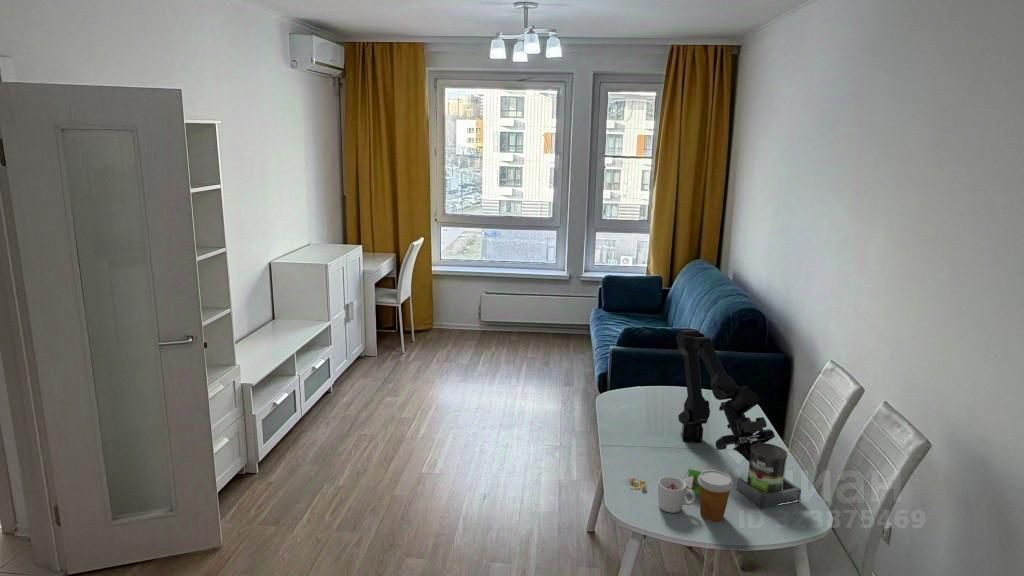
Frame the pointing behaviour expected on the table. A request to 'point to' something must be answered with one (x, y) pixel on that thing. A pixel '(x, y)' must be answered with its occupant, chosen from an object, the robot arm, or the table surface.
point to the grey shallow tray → (769, 494)
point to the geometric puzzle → (692, 481)
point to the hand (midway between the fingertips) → (755, 466)
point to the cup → (673, 494)
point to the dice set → (642, 483)
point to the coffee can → (766, 467)
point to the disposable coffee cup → (714, 494)
